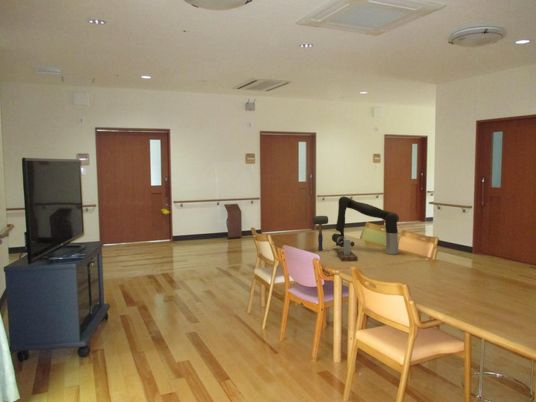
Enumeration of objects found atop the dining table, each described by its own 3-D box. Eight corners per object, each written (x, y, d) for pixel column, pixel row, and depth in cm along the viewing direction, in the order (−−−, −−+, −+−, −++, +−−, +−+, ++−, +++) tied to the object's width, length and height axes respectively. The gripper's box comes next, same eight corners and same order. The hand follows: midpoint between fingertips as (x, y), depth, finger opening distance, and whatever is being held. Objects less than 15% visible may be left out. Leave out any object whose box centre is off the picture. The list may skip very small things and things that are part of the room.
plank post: (348, 257, 332) (348, 238, 331) (350, 258, 327) (350, 239, 326) (343, 257, 332) (343, 238, 331) (344, 258, 327) (345, 239, 326)
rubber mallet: (325, 249, 363) (326, 214, 360) (328, 251, 355) (328, 216, 352) (312, 250, 360) (312, 215, 357) (314, 251, 353) (314, 216, 350)
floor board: (351, 255, 340) (351, 251, 339) (357, 260, 320) (357, 257, 320) (336, 255, 339) (336, 251, 339) (341, 261, 319) (342, 257, 319)
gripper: (333, 237, 344) (337, 241, 328) (351, 236, 344) (356, 240, 328) (333, 246, 344) (337, 250, 328) (350, 245, 345) (355, 250, 329)
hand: (346, 245), depth 328 cm, fingers open, 8 cm apart
